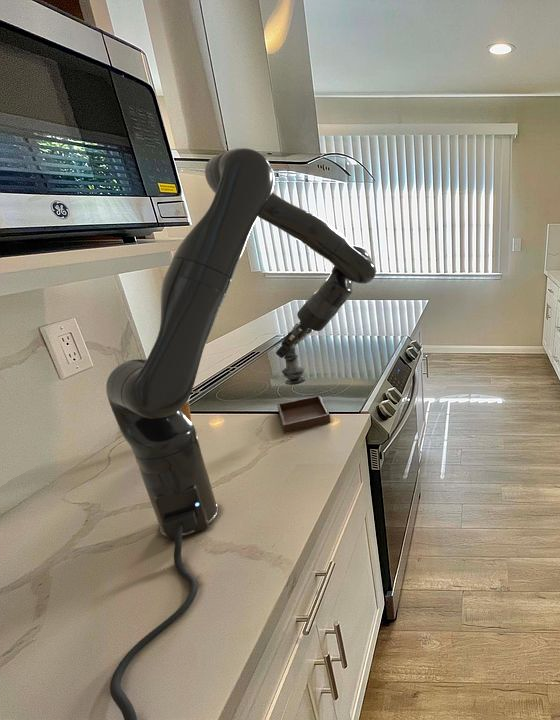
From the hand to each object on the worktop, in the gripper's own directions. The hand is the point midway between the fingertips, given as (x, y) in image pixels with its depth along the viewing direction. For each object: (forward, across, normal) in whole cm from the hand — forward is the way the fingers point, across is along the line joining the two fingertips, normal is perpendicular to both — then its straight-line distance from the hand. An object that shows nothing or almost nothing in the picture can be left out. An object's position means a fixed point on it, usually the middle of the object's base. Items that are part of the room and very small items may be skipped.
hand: (282, 353), depth 109 cm
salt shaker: (+5, 0, +8) cm, 9 cm away
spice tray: (+13, -2, +16) cm, 21 cm away
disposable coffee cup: (+34, +9, -5) cm, 36 cm away
